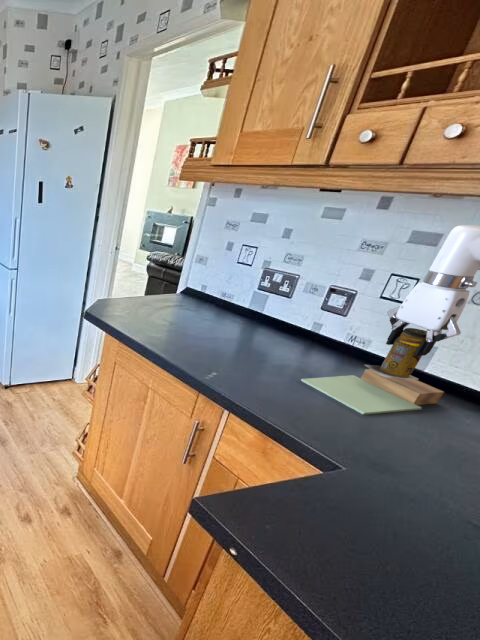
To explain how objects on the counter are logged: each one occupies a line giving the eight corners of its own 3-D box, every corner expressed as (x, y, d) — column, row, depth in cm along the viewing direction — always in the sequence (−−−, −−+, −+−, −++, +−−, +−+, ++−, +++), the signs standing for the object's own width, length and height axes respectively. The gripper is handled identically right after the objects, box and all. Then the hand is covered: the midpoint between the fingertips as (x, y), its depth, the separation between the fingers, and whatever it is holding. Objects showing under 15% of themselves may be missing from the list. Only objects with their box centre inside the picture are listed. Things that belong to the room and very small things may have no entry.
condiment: (418, 379, 107) (445, 336, 101) (383, 377, 108) (408, 334, 102) (396, 367, 114) (419, 326, 108) (363, 365, 114) (385, 324, 109)
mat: (352, 376, 121) (353, 375, 121) (420, 409, 106) (422, 407, 106) (300, 380, 118) (301, 378, 118) (363, 414, 103) (364, 412, 103)
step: (381, 378, 121) (388, 367, 119) (436, 403, 109) (444, 391, 107) (359, 380, 120) (365, 369, 118) (412, 405, 108) (419, 393, 106)
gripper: (505, 290, 92) (456, 363, 100) (418, 271, 106) (382, 336, 115) (478, 291, 90) (431, 365, 99) (395, 271, 105) (360, 337, 114)
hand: (405, 348), depth 107 cm, fingers closed on condiment, 6 cm apart
